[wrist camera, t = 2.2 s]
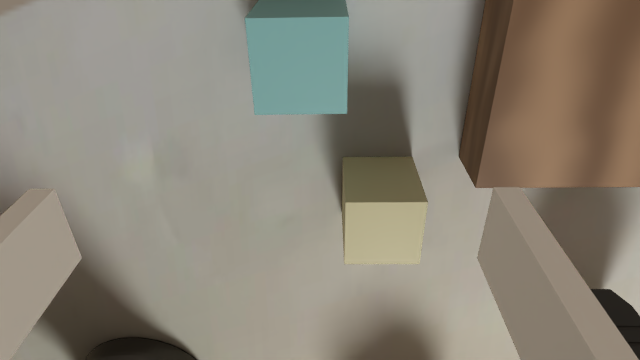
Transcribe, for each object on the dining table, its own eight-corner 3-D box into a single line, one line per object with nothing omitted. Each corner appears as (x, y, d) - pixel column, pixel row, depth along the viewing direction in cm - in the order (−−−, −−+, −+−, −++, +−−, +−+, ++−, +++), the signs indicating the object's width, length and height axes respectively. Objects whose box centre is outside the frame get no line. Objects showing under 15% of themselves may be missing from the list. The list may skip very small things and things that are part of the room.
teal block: (267, 79, 34) (254, 114, 28) (260, -3, 31) (244, 18, 25) (343, 78, 34) (347, 113, 28) (344, -4, 31) (348, 16, 25)
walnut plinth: (458, 156, 38) (475, 187, 33) (489, -21, 30) (515, -10, 26) (623, 155, 37) (661, 186, 33) (694, -25, 30) (755, -14, 26)
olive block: (341, 212, 41) (344, 264, 35) (342, 156, 38) (345, 202, 32) (405, 212, 41) (419, 264, 35) (412, 156, 38) (427, 202, 32)
